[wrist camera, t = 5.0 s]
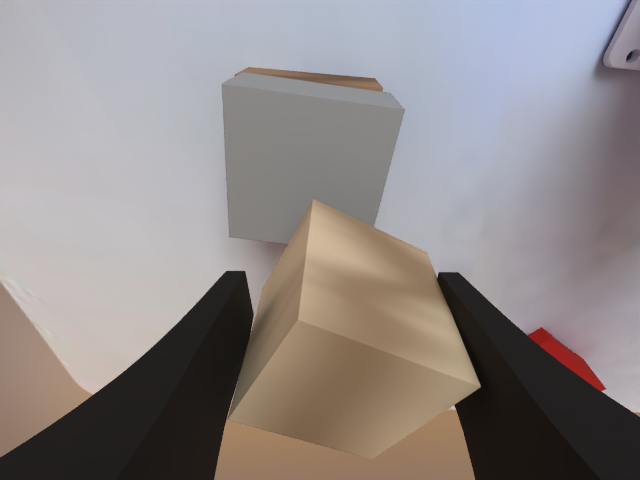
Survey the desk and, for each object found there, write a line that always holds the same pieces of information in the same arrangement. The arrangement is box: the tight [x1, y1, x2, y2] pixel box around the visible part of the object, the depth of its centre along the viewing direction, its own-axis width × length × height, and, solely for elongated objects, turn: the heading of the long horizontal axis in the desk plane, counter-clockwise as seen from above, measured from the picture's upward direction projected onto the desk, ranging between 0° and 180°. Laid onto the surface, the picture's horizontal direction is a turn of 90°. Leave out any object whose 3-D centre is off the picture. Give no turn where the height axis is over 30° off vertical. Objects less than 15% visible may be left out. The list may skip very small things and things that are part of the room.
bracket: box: [527, 328, 606, 391], centre depth 26 cm, size 6×5×3 cm
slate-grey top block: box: [222, 72, 405, 244], centre depth 13 cm, size 6×6×3 cm
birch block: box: [228, 199, 481, 459], centre depth 10 cm, size 4×4×5 cm
